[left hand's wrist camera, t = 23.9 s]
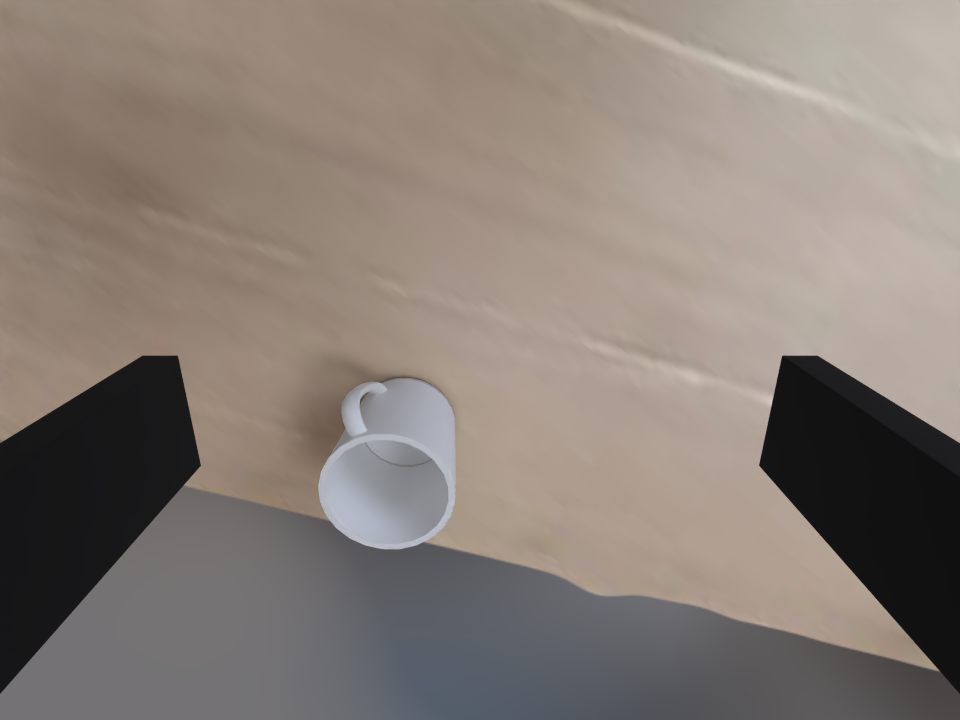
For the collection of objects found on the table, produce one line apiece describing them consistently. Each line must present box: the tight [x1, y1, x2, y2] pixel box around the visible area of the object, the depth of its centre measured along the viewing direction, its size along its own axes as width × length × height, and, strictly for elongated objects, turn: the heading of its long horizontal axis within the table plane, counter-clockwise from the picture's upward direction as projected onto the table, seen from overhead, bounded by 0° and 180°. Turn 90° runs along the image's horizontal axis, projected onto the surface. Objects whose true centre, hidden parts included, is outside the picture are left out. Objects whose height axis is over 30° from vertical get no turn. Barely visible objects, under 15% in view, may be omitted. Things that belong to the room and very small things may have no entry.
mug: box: [318, 378, 455, 549], centre depth 40 cm, size 11×9×10 cm
